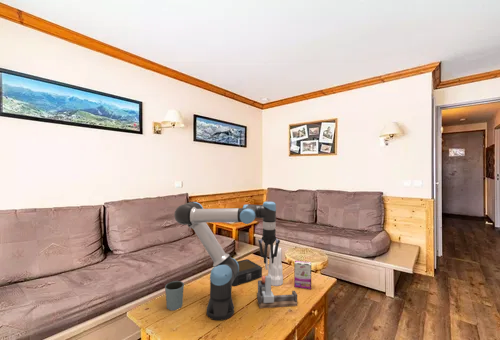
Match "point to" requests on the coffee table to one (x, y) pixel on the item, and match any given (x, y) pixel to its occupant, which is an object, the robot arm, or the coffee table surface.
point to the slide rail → (279, 300)
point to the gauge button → (263, 279)
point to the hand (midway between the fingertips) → (268, 268)
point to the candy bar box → (302, 274)
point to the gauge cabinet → (261, 287)
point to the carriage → (268, 291)
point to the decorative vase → (276, 269)
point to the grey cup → (174, 295)
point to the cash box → (247, 272)
